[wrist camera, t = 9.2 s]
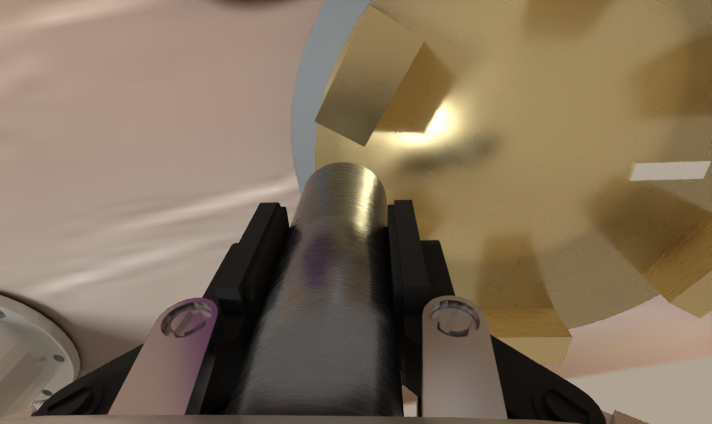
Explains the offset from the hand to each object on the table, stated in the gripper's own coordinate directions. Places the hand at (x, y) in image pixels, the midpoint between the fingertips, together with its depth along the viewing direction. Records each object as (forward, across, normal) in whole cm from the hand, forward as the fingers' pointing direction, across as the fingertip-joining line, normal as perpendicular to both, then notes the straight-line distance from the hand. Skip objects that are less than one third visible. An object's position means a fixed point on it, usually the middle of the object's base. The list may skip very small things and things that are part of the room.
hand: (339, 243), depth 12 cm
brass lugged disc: (+8, -8, 0) cm, 11 cm away
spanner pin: (+3, 0, 0) cm, 3 cm away
